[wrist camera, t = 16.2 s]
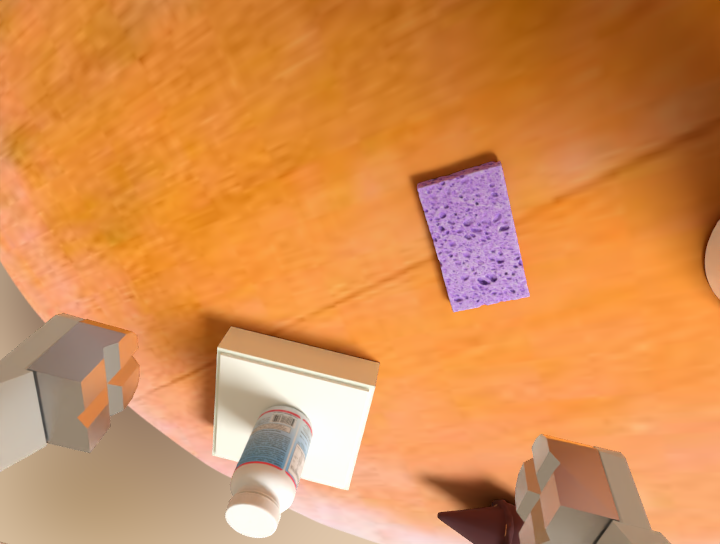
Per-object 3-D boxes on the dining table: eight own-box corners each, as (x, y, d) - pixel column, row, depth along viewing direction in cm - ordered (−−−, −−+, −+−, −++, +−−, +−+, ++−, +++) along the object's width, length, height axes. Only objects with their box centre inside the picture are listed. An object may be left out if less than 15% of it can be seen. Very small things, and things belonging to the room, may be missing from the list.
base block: (379, 363, 53) (374, 389, 50) (353, 464, 61) (347, 493, 58) (231, 326, 54) (215, 349, 51) (224, 431, 62) (211, 457, 59)
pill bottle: (248, 423, 55) (203, 518, 45) (278, 393, 52) (238, 487, 42) (293, 454, 56) (260, 552, 46) (326, 426, 53) (297, 524, 44)
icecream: (423, 558, 58) (547, 590, 59) (450, 539, 52) (584, 574, 54) (427, 496, 62) (541, 526, 64) (451, 472, 57) (575, 506, 59)
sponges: (452, 302, 49) (452, 312, 47) (416, 179, 44) (414, 187, 42) (528, 287, 47) (531, 298, 45) (500, 156, 42) (502, 163, 40)
